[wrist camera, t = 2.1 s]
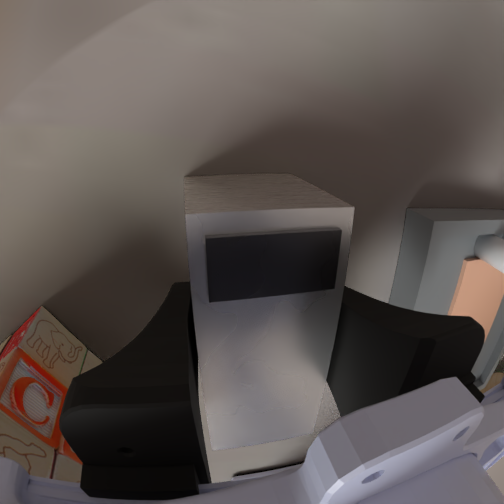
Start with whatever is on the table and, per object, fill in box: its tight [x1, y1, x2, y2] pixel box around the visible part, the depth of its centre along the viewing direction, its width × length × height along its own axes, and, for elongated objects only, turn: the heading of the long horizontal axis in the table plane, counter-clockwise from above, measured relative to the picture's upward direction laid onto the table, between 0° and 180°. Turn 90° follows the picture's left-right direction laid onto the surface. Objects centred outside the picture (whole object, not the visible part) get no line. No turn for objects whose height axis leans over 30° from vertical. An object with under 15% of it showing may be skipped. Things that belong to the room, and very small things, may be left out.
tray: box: [389, 208, 504, 390], centre depth 16 cm, size 16×14×4 cm
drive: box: [184, 173, 354, 451], centre depth 11 cm, size 9×4×5 cm, turn 179°
